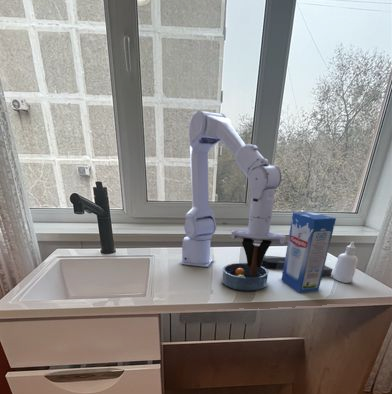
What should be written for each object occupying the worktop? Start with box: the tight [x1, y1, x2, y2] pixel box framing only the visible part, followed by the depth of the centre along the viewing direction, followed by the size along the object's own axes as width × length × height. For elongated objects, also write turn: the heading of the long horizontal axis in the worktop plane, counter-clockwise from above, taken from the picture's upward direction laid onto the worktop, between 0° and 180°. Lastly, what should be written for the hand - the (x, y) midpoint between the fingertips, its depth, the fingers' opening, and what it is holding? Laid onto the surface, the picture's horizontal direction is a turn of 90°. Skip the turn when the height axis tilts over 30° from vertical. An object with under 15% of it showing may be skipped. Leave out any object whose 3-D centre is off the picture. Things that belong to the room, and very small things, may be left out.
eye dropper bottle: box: [332, 241, 359, 284], centre depth 87 cm, size 4×6×12 cm
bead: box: [235, 268, 245, 276], centre depth 88 cm, size 3×3×3 cm
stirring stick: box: [249, 243, 261, 276], centre depth 82 cm, size 2×2×9 cm
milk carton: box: [281, 211, 337, 294], centre depth 81 cm, size 10×6×20 cm, turn 16°
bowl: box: [221, 262, 269, 292], centre depth 85 cm, size 13×13×4 cm
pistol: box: [261, 254, 333, 277], centre depth 98 cm, size 2×26×15 cm
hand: (254, 265), depth 83 cm, fingers closed on stirring stick, 2 cm apart
